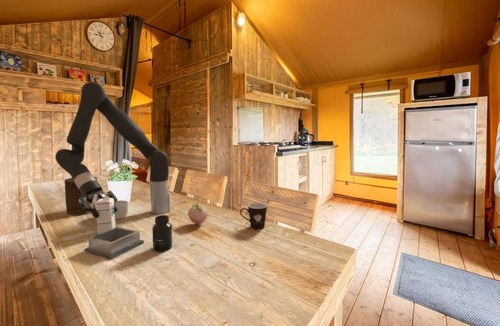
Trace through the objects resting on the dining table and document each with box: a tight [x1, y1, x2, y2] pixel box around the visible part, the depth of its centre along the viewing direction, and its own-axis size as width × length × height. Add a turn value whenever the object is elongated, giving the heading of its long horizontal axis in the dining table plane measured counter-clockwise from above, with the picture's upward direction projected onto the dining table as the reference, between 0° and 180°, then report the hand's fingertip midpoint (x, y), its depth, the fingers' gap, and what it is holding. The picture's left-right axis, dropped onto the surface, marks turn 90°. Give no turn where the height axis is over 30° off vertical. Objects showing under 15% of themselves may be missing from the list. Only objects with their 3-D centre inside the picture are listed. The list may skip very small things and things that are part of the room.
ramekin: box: [115, 200, 130, 221], centre depth 126 cm, size 13×13×7 cm
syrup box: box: [95, 198, 117, 234], centre depth 106 cm, size 6×6×14 cm
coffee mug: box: [239, 202, 268, 230], centre depth 113 cm, size 12×9×10 cm
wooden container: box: [64, 176, 98, 216], centre depth 134 cm, size 15×15×22 cm
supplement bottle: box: [151, 214, 173, 253], centre depth 91 cm, size 7×7×12 cm
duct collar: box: [84, 226, 145, 260], centre depth 92 cm, size 14×14×5 cm
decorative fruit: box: [187, 203, 209, 225], centre depth 115 cm, size 9×8×10 cm
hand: (107, 213), depth 105 cm, fingers closed on syrup box, 8 cm apart
